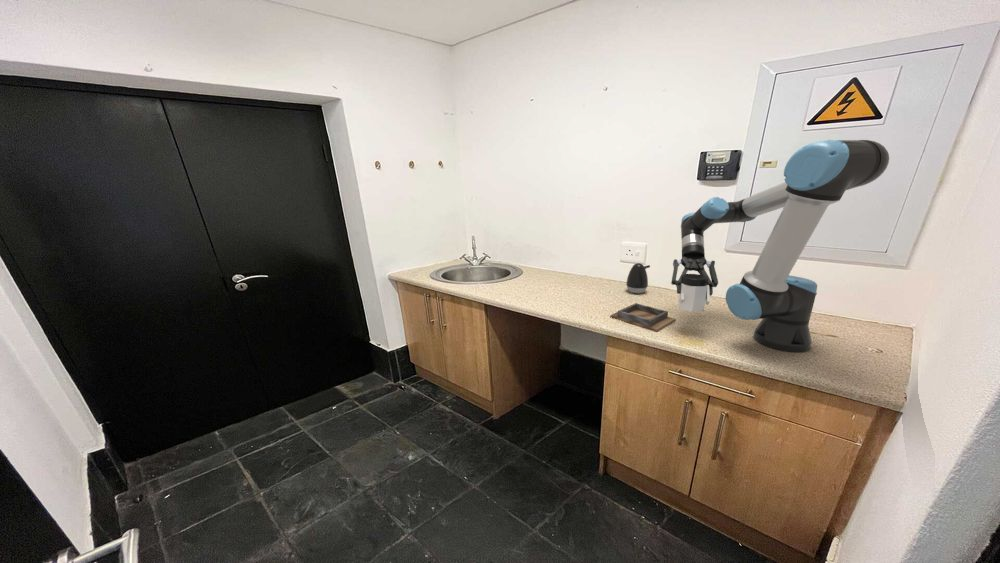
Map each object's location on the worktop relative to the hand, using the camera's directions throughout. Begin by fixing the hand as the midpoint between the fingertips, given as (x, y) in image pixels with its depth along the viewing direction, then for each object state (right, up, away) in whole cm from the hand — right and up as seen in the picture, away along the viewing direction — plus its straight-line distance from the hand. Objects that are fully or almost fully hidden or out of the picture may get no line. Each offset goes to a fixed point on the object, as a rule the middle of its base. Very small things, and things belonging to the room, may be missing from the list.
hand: (694, 302), depth 117 cm
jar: (+1, -3, +4) cm, 5 cm away
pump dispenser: (+1, +2, +53) cm, 53 cm away
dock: (-10, -8, +19) cm, 24 cm away
